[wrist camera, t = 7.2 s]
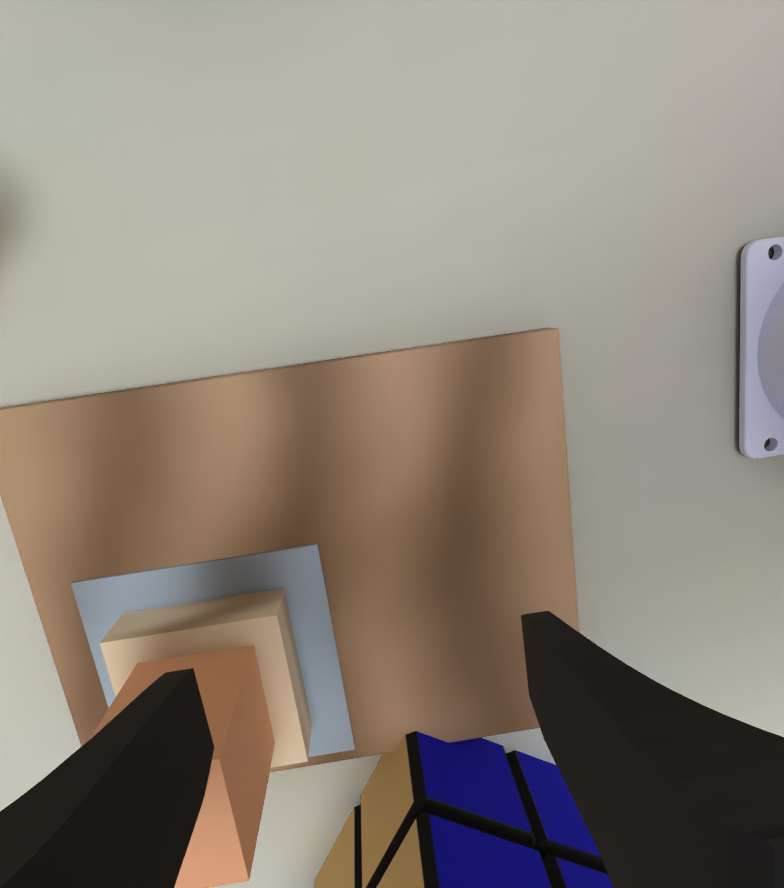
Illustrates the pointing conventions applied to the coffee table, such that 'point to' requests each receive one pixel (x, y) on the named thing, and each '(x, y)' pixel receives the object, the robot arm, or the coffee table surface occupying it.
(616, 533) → the coffee table surface
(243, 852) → the terracotta block
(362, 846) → the puzzle cube
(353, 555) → the building board
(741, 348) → the robot arm
